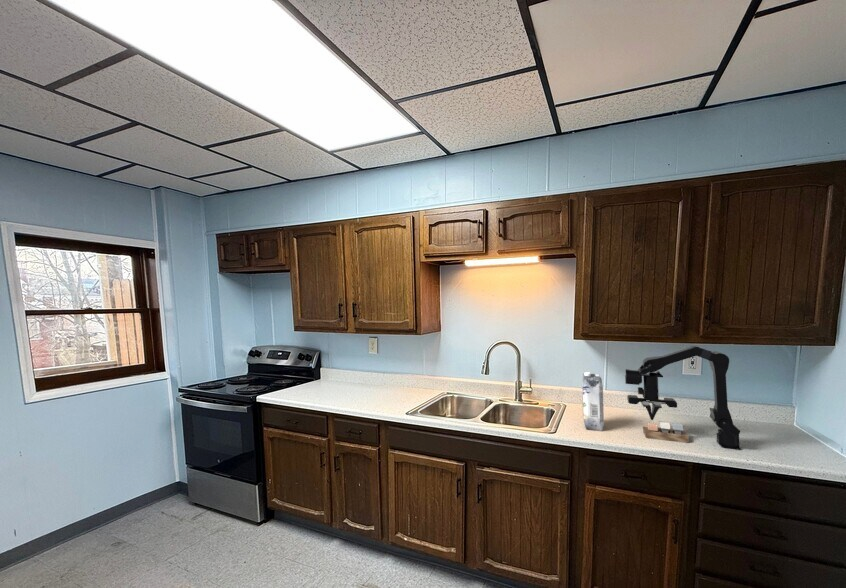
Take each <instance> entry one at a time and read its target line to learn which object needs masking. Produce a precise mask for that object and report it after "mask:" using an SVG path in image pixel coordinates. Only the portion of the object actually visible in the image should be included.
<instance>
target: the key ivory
mask: <svg viewBox="0 0 846 588" xmlns="http://www.w3.org/2000/svg"><path fill="white" fill-rule="evenodd" d="M658 422H659V423H658V424H659V428H661V430H662V433H668V429H671V423H669V421H661V420H659V421H658Z"/></svg>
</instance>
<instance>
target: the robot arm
mask: <svg viewBox="0 0 846 588" xmlns="http://www.w3.org/2000/svg"><path fill="white" fill-rule="evenodd" d="M694 357H699V358H702V359H704V360H707V361H708V362H709V366H710V369H711V371H712V376H713V379H712V380H713V381H712V382H713V394H714V395H713V397H714V406H713V407H709V413H710V415H709V417H710V418H711V420H712V422H714V424H715V425H716V426H717V427H718V429H717V432H716V443H717V445H719V446H720V447H721V448H725V449H733V450H741V451H742V447H741V446H740V434H741V430H740V429H739V428H738V427H737V426H736V425H735V424H734V421H733V418H732V415H731V412H730V409H729V407H728V391H727V390H728V389H727V372H728V370H729V366H730V358H729V356H728V355H727V354H725V353H723V352H721V351H717V350H716V351H715V350H713V351H711V350H708V349H705V348H702V347H700V346H697V345H691V346H689V347H686V348H684V349H680V350H678V351H677V350H676V351H674V352H671V353H667V354H664V355H659V356H657V355H656V356H649V357H646V358H643V360H642V364H641V366H640V367H639V368H638V369H637V370H636V369H629V368H625V375H624V383H625V385H637V386H639V385H641V384H643V387H640V386H639V387H637V394H638V395H642V397H638V395H636V394H628V395H626V398H627V403H628V404H632V405H638V404H639V403H641V405H642V407H643V408H645V410H647V413H648V415H649V419H650V421H654V418H655V416H656V415H657V413H658V411H659V410H660V409H662V405H666V406H667V407H668V408H675V409H676V408H678V402H677V400H675V398H673V397H663V399H661V398H660V397H659V378H664V375H663V374H662V373H661V372H660V371H659V370H662V369H663V368H665V366H666V367H667V366H668V365H671V364H674V363H677V362H681V361H684V360H687V359H689V358H694ZM659 398H660V399H659ZM650 404H651V405H650Z"/></svg>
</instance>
